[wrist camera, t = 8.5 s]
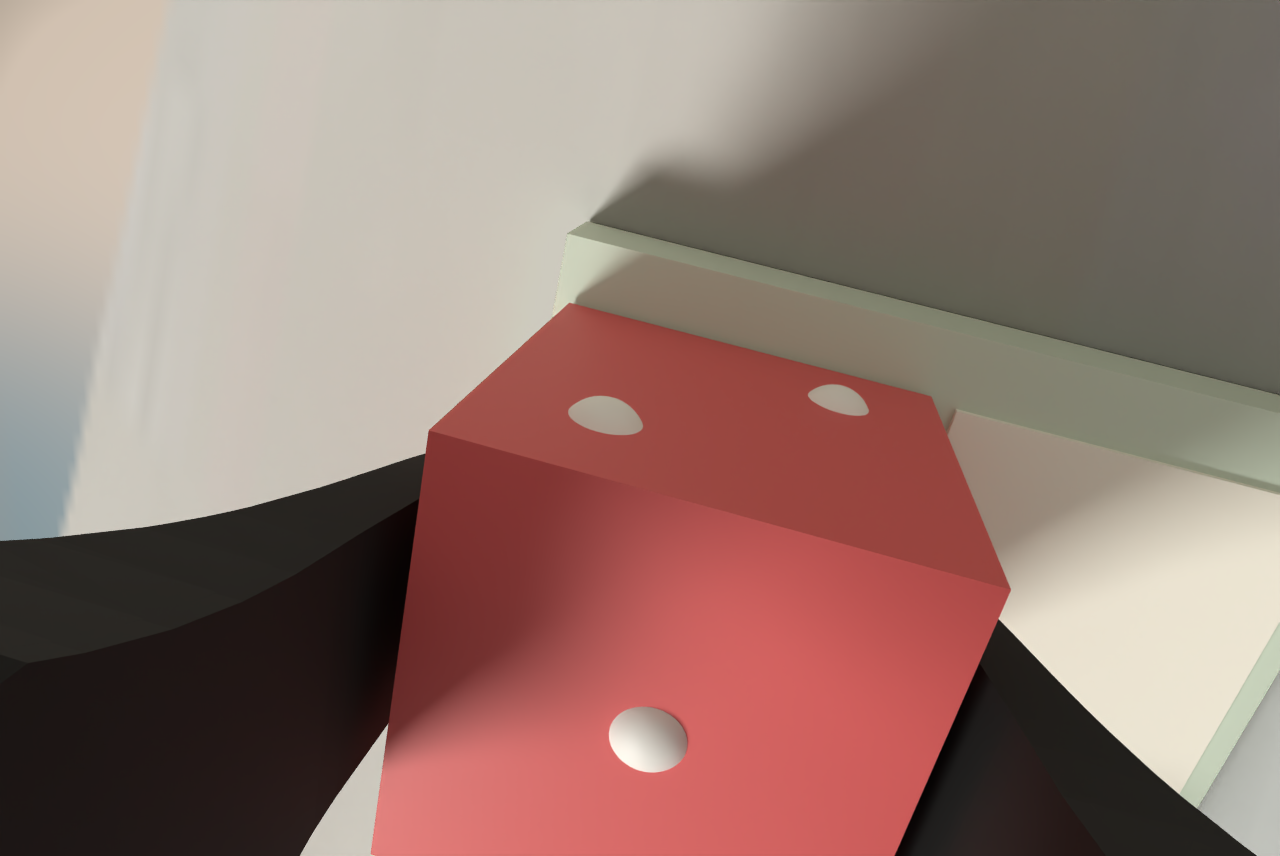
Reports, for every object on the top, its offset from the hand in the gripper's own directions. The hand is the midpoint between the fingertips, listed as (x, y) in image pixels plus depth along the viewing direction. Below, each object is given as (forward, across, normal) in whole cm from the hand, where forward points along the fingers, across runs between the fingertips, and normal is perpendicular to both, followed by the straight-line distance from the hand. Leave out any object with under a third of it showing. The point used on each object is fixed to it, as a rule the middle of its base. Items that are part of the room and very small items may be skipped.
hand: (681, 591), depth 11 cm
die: (+2, 0, 0) cm, 2 cm away
